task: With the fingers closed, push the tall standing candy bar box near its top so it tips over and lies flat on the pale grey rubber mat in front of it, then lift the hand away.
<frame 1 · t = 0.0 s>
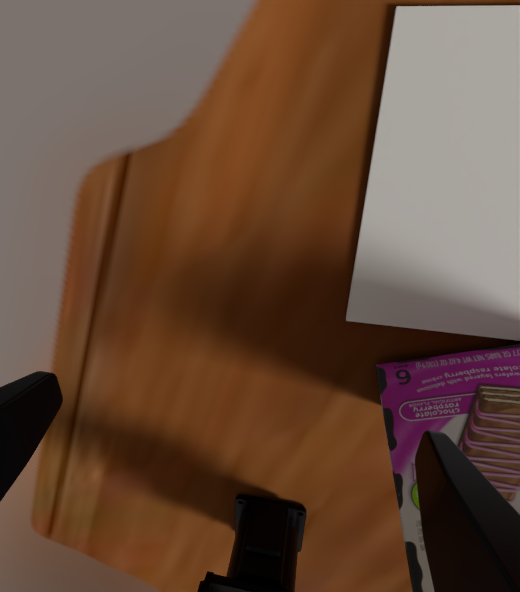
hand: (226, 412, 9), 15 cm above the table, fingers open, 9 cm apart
candy bar box: (464, 371, 24), on the table
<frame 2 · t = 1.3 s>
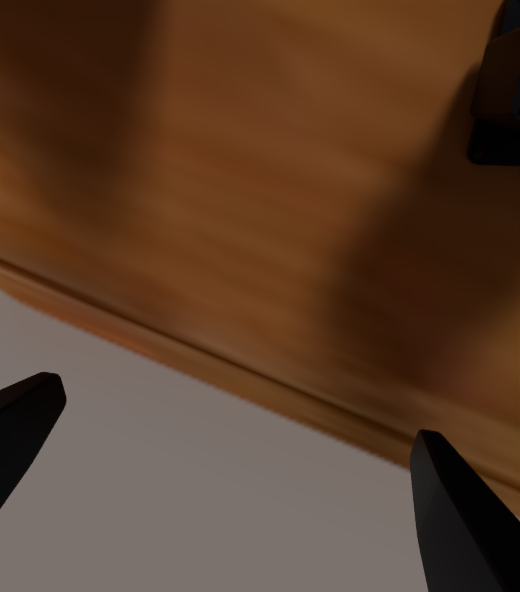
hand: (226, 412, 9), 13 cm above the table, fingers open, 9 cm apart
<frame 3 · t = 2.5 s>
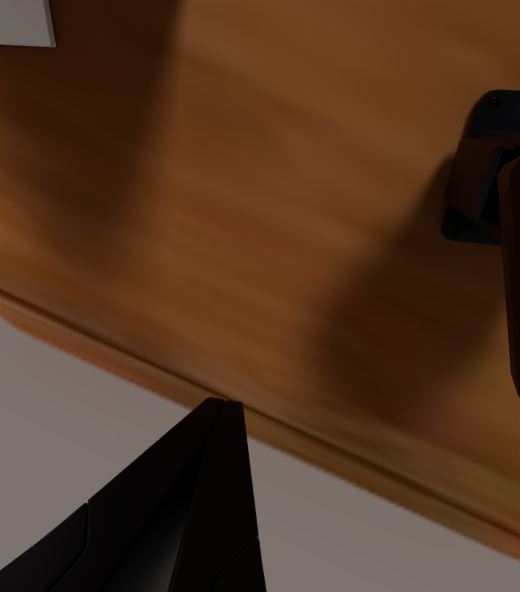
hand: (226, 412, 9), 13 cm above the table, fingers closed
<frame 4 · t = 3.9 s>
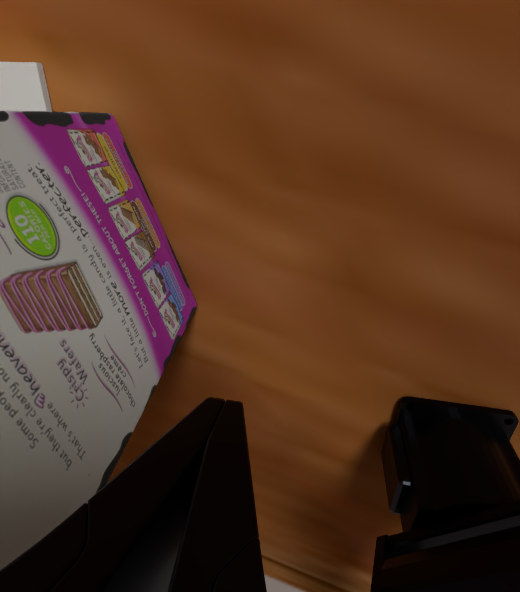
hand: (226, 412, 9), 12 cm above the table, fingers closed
candy bar box: (124, 232, 20), on the table, touching mat
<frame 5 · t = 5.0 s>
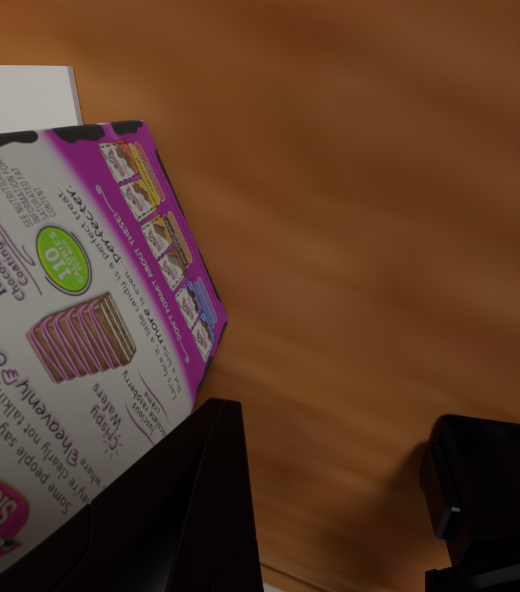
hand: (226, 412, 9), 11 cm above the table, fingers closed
candy bar box: (154, 243, 19), on the table, touching gripper, mat
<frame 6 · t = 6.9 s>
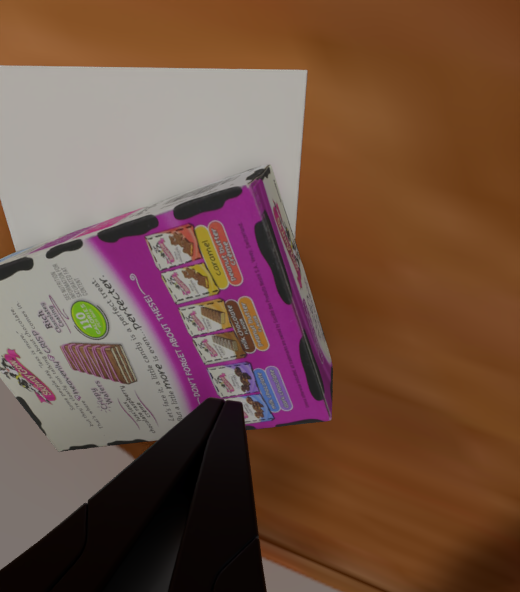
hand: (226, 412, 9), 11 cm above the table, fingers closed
mat: (146, 242, 20), on the table
candy bar box: (309, 291, 16), point 3 cm above the table, touching mat
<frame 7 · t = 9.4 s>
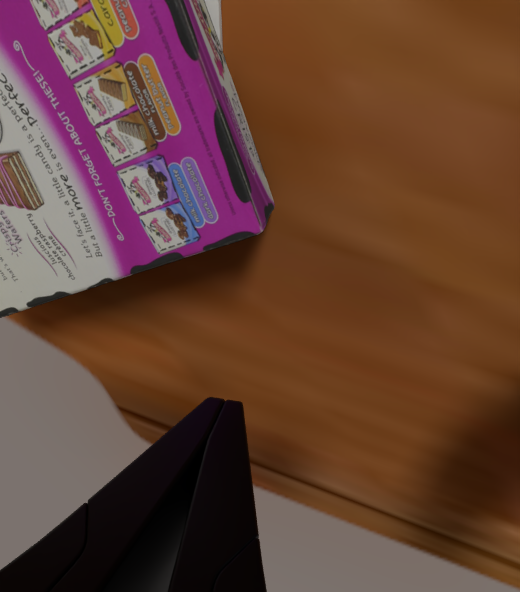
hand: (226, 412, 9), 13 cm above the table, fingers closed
mat: (62, 75, 18), on the table
candy bar box: (232, 85, 14), point 3 cm above the table, touching mat
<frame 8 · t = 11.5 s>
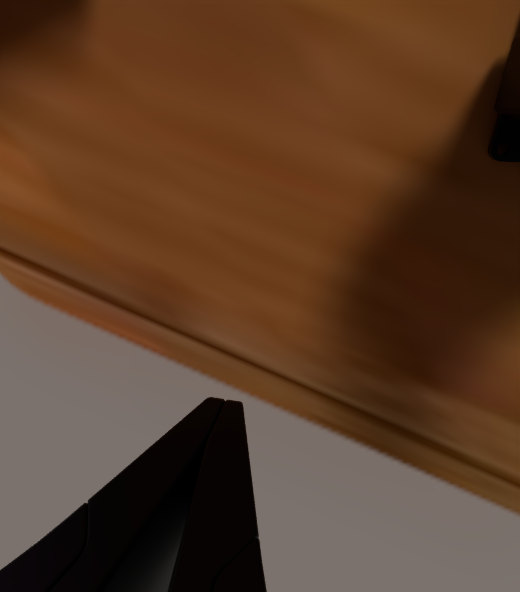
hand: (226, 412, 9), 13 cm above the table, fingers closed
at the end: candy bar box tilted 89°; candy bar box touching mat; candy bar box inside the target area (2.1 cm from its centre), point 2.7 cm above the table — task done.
